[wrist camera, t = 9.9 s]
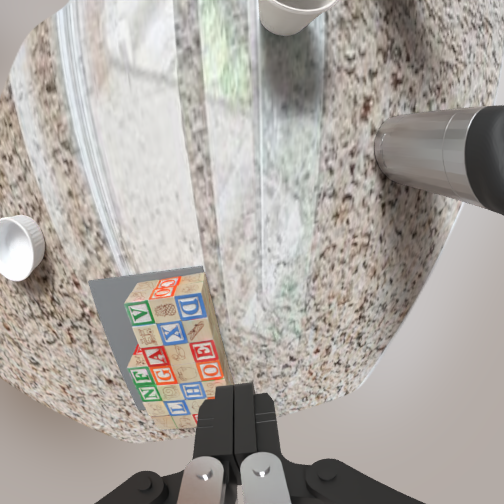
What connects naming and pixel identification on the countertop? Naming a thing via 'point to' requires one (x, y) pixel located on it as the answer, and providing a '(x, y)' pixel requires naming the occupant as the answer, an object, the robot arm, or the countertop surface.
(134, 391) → the mat
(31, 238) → the ramekin
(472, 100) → the countertop surface
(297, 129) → the countertop surface
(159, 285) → the stack of blocks
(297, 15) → the dixie cup
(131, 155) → the countertop surface
